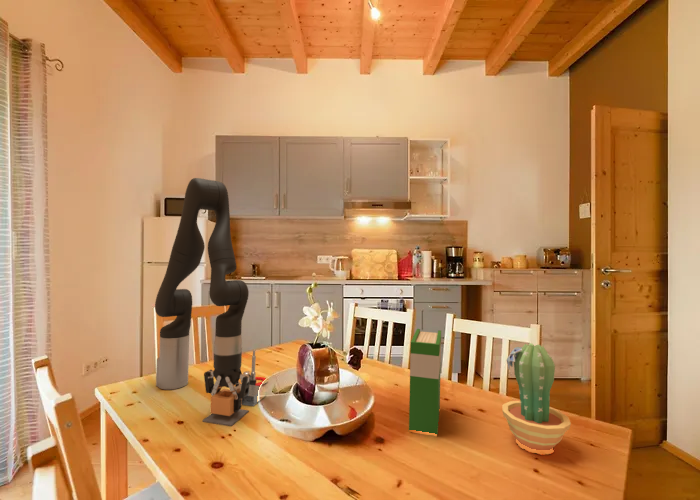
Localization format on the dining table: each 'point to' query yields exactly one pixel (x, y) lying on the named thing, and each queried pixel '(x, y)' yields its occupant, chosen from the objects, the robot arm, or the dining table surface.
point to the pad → (225, 418)
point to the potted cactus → (534, 400)
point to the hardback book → (425, 381)
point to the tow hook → (253, 373)
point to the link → (223, 403)
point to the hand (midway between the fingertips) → (226, 409)
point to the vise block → (250, 394)
